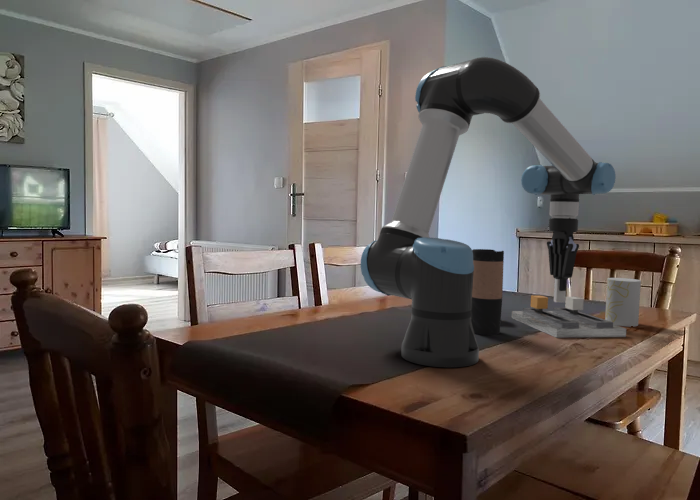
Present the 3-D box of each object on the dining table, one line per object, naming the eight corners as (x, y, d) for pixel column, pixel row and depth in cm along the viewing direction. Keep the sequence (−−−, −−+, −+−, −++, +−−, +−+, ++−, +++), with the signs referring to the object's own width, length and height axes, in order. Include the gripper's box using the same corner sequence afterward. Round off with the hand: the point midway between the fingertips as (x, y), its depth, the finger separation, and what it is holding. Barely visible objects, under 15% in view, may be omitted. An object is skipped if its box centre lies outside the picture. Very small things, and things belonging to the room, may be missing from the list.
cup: (598, 321, 155) (600, 277, 154) (622, 320, 158) (624, 277, 157) (620, 327, 147) (623, 281, 147) (645, 325, 150) (648, 281, 149)
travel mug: (468, 334, 134) (471, 250, 133) (469, 327, 141) (472, 248, 140) (501, 336, 132) (504, 251, 131) (500, 330, 140) (503, 249, 138)
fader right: (572, 316, 148) (573, 298, 147) (564, 314, 151) (565, 296, 151) (582, 316, 148) (583, 298, 148) (575, 314, 152) (576, 296, 151)
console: (556, 337, 132) (557, 324, 132) (511, 318, 156) (512, 306, 156) (625, 336, 135) (626, 323, 135) (571, 317, 159) (571, 306, 159)
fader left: (536, 315, 148) (537, 297, 148) (530, 313, 152) (531, 295, 151) (547, 315, 149) (548, 297, 148) (540, 313, 152) (541, 295, 152)
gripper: (589, 218, 149) (585, 305, 151) (563, 217, 162) (559, 298, 164) (563, 217, 148) (559, 306, 150) (539, 216, 161) (535, 298, 163)
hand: (559, 301), depth 157 cm, fingers closed
